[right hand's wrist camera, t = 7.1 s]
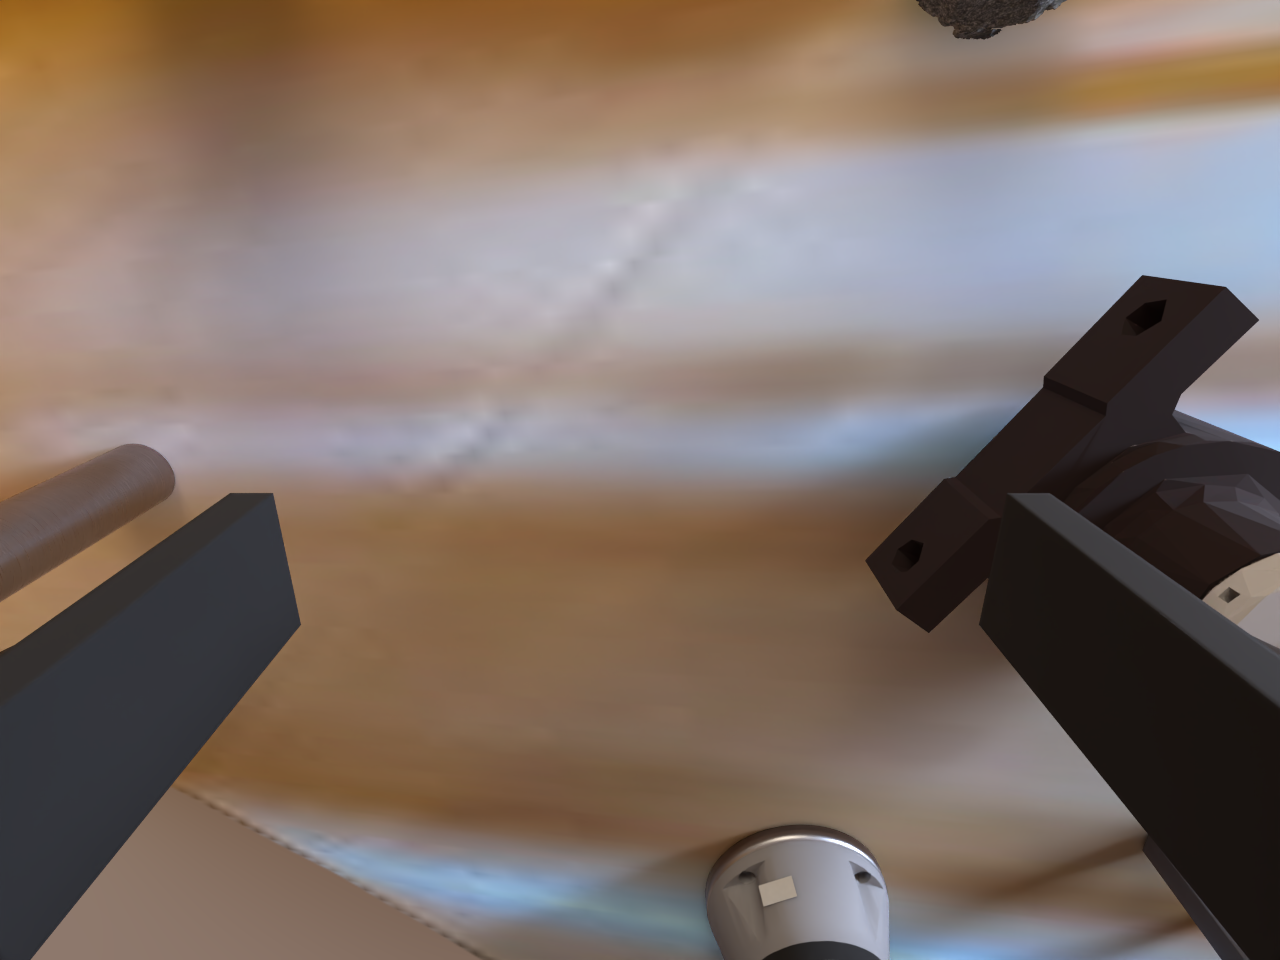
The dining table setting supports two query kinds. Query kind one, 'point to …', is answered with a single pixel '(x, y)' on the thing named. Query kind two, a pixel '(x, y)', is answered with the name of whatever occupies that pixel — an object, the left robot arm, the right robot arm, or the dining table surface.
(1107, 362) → the mechanical component
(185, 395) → the dining table surface
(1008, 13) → the rock
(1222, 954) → the planter
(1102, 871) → the dining table surface
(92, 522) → the bottle
